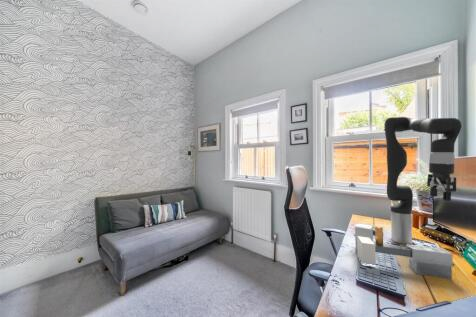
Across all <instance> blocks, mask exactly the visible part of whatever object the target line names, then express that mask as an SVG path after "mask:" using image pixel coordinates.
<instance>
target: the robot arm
mask: <svg viewBox="0 0 476 317" xmlns="http://www.w3.org/2000/svg"><path fill="white" fill-rule="evenodd" d="M462 125H463V124H462V122H461V121H460V119H458V118H456V117H455V118H454V117H449V118H448V117H442V118H441V117H439V118H437V117H436V118H429V117H428V118H422V117H421V118H412V117H407V116H390V117H387V118H386V119H385V121H384V124H383V126H384V134H385V142H386V166H387V179H386V180H387V182H386V196H387V198H388V200H390V201H394V202H396V201H397V202H399V203H396V204H394V205H391V207H390V229H391V230H390V232H391V235H390V236H391V240H392V241H393V242H396V243H399V244H403V245H406V244H410V245H413V229H412V226H413V225H412V223H413V222H412V211H413V200H414V199H413V198H414V194H413V190H412V188H411V187H410V186H408V185H398V179H399V177H400V175H401V173H402V172H403V171H404V170H405V169H406V166H407V165H408V156H407V155H408V154H407V150H405V148H404V147H403V145H401V143H400V142H399V140H398V139H397V135H396V133H401V132H409V131H413V132H417V133H426V134H432V135H442V136H441V138H439V139H434V140H432V141H431V144H430V155H429V162H428V164H429V165H428V172H429V173H427V178H426V179H427V181H426V183H427V184H426V186H427V187H428V188H429V189H430V191H429V196H430V197H433V198H435V197H438V191H439V190H438V188H439V187H440V188H441V189H442V200H443V201H444V202H451V200H452V193H453V192H457V177H456V176H450V175H454V174H455V163H456V162H455V160H456V159H455V158H456V157H455V144H456V141H457V139H458V137H459V135H460V132H461V129H462V128H463V127H462Z"/></svg>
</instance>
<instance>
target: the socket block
mask: <svg viewBox="0 0 476 317" xmlns="http://www.w3.org/2000/svg"><path fill="white" fill-rule="evenodd" d="M374 243H375V242H374V240H373V241H372V240H371V239H370V238H368V237H360V236H357V244H358V250H357V259H358V258H359V259H360V260H361V262H362V263H366V264H372V265H376V266H377V264H376V260H377V258H376V252H375V244H374ZM359 259H358V260H359ZM360 260H359V261H360ZM361 262H360V263H361Z"/></svg>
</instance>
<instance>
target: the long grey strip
mask: <svg viewBox="0 0 476 317" xmlns="http://www.w3.org/2000/svg"><path fill="white" fill-rule="evenodd" d="M374 231H375V232H374V233H375V236H374V237H375V238H374V240H375V242H373V243H374V244H375V253H378V254H386V255H393V256H398V257H399V256H400V257H406V258H407V257H408V258H409V257H412V250H411V249H410V248H409V247H406V246H401V245H400V246H399V245H391V244H384V228H383V227H382V226H376V225H375V227H374Z"/></svg>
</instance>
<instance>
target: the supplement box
mask: <svg viewBox="0 0 476 317" xmlns="http://www.w3.org/2000/svg"><path fill="white" fill-rule="evenodd" d="M354 234H355V235H354V237H355V238H354V239H355V240H354V241H355V250H356V251H358V244H357V236H360V237H368V238H370V239H371V240H372V241H373V242H374V228H373V225H369V224H363V223H356V224H355V226H354Z"/></svg>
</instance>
